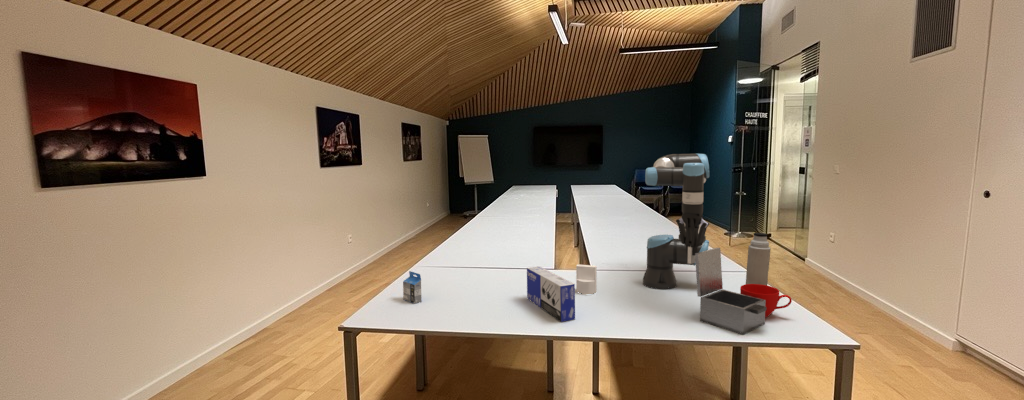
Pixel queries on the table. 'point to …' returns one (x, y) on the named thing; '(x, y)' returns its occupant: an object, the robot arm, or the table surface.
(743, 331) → the grey rectangular box
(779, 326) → the table surface
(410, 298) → the label tape box
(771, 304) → the ceramic cup
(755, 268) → the thermos bottle
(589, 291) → the base with upright slab
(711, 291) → the lid
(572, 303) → the ink box
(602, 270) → the table surface
